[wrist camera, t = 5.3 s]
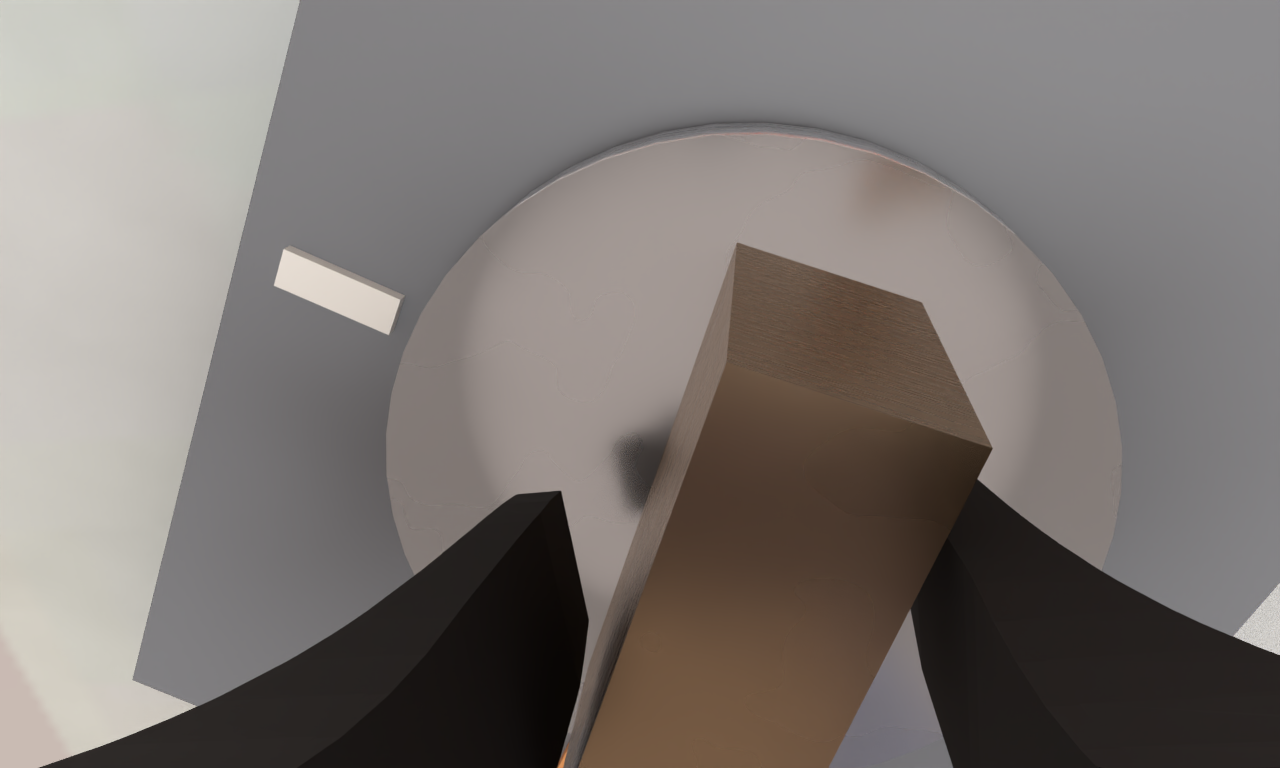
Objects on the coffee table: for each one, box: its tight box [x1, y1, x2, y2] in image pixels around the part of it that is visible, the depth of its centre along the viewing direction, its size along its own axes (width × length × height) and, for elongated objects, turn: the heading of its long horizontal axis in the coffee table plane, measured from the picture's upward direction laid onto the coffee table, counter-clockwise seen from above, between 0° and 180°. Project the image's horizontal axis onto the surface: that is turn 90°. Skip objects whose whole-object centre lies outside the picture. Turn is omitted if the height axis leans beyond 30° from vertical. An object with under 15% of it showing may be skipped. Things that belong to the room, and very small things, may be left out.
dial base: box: [133, 0, 1280, 768], centre depth 15 cm, size 18×16×2 cm
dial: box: [386, 123, 1122, 768], centre depth 12 cm, size 10×10×5 cm
